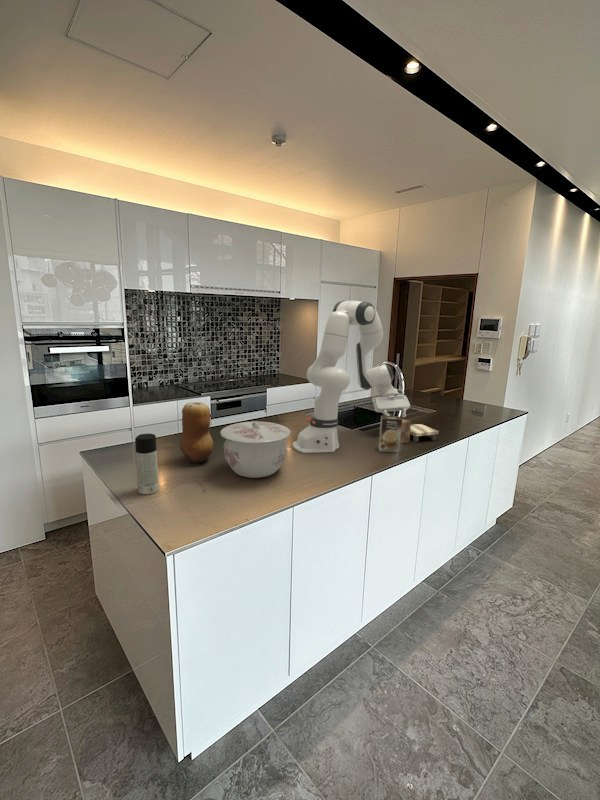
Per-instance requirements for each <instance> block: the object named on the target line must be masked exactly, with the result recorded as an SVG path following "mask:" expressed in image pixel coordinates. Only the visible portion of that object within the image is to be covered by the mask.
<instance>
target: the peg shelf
mask: <svg viewBox="0 0 600 800" xmlns="http://www.w3.org/2000/svg"><path fill="white" fill-rule="evenodd" d="M410 435H412V436H413V438H412V439H413V441H412V442H413V443H415V442H418V443H419V437H422V436H430V440H431V441H433V442H434V441H436V440H437V435H439V430H436V429H434V428H432V427H429V426H427V425H424V424H422V423H420V424H419V423H418V424H415V423H414V424H411V428H410Z"/></svg>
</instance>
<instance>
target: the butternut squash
mask: <svg viewBox="0 0 600 800" xmlns="http://www.w3.org/2000/svg"><path fill="white" fill-rule="evenodd" d="M181 410H182V411H181V414H182V417H181V426H182V431H181V432H182V434H181V438H180V442H179V448H180V451H181V452H182V453H183V454H182V455H184V457H186V459H188V460H189V461H191V462H193V463H195V464H198V463H201V462H204V461H206V460H207V459H208V458H209V457H210V456H211V455H212V453H213V451H214V441H213V437H212V436H211V434H210V426H211V409H210V407H209V405H207V404H206V403H204V402H200V401H199V402H198V401H195V402H187V403H185V404H184V405H183V408H182V409H181Z"/></svg>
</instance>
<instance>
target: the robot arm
mask: <svg viewBox="0 0 600 800" xmlns="http://www.w3.org/2000/svg"><path fill="white" fill-rule="evenodd" d="M351 326H358V330H359V333H360V334H359V336H360V337H359V342H357V344H356V354H355V355H356V368H357V383H358V386H359V387H360V388H361V389H363V390H366V391H368V390H370V389H373V388H374V387H375V388H376V390H377V395H373V396H372V397H371V400H372V404H373V408H374V411H375V412H376V413H382V415H385V416H391V414H390V413H388V412H395V411H397V412H400V411H401V412H402V413H401V418H406V417H407V414H406V412H407V410H409V409H410V407H411V404H410V401H409V399H408V396H407V395H405V391H404V390H402V389H398V388H394V386H393V384H392V382H393V380H394V378H395V375H394V371H393V369H392V366H390V365H389V364H386V363H384V364H380V365H381V366H380V365H378V366H374V367H372V368H369V369H367V363H366V358H367V355H368V354H369V353H370V352H371V351H373V349H375V348H377V347H379V345H380V344H381V342H382V340H383V339H384V329H383V326H382V321H381V318H380V316H379V313H378V311H377V309H375V306H374V305H373V304H372V303H371V302H368V301H360V300H341V301H339V302H337V303H335V305H334V306H333V308H332V312H331V313H330V314H329V316H328V319H327V321H326V324H325V327H324V332H323V337H322V341H321V346H320V348H319V352H318V355H317V356H316V358H315V360H314V362H313V363H312V364H311V365H310V366H309V367H308V368H307V371H306V379H307V381H308V382H310V384H312V385H314V386H315V387H317V388H321V389H320V393H319V396H318V397H317V398H316V399H315V400H314V406H313V407H314V408H313V409H314V410H313V417H312V418H311V417H310V416H307V418H306V421H307V422H309V425H308V426H307V427H305V428H304V429H303V430H301V431H300V432H299V433H298V436H297V439H296V441H292V447H293V449H295V450H296V451H298V452H299V453H303V454H309V453H310V454H312V453H313V454H315V453H318V454H319V453H334V452H335V451H336V450H337V449H339V448H340V444H339V437H338V428H339V417H338V412H339V411H338V409H339V402H340V398H341V395H342V393H343V392H344V391H345V390H346V389H347V388H348V387H349V385H350V381H351V380H350V379H351V377H350V375H349V373H348V371H346V370H345V369H343V368H341V367H338V366H336V364H337V363H338V361H339V360H340V358H342V357H343V356H344V355H345V351H346V347H347V342H348V338H349V333H350V332H349V331H350V327H351ZM379 366H380V367H379Z"/></svg>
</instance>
